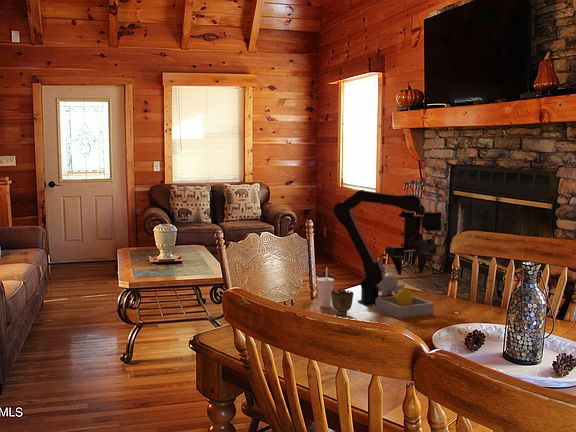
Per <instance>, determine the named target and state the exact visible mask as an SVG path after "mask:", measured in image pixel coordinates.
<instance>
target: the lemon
mask: <svg viewBox="0 0 576 432" xmlns="http://www.w3.org/2000/svg"><path fill="white" fill-rule="evenodd" d="M395 296H396V303H397V305H398V306H409V305H411V304H412V296H413V294H412V292H411V291H410V289H408V288H406V287H404V288H403V289H401V290H399V291H398V293H397V294H396V295H395Z"/></svg>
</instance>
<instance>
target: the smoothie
mask: <svg viewBox="0 0 576 432" xmlns="http://www.w3.org/2000/svg"><path fill="white" fill-rule="evenodd" d="M328 273H329V270H328V267H325V277H317V278H316V283H317V294H318V304H319V307H321V308H330V307H331V303H332V294H331V292H332V291H334V290H333V289H334V283H335V278H333V277H328V276H329V275H328Z"/></svg>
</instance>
